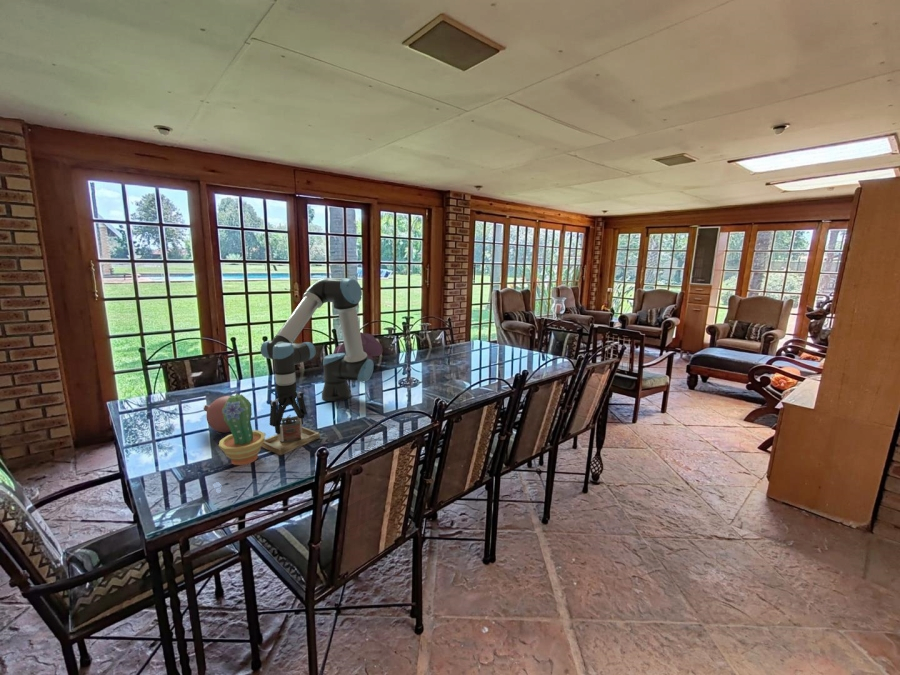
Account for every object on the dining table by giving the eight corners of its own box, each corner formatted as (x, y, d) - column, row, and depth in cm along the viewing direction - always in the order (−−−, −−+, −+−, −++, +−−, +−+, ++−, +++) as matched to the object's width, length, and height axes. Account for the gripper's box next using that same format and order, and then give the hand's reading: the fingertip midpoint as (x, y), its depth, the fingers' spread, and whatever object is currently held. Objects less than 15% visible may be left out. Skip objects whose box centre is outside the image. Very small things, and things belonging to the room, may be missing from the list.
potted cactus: (210, 464, 144) (202, 399, 139) (246, 446, 158) (239, 386, 153) (243, 473, 138) (235, 405, 133) (276, 453, 152) (271, 391, 147)
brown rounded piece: (224, 419, 183) (221, 387, 180) (257, 426, 176) (254, 393, 172) (192, 433, 169) (187, 398, 166) (226, 441, 162) (222, 405, 158)
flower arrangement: (350, 387, 243) (353, 345, 233) (319, 375, 251) (321, 334, 240) (381, 367, 274) (385, 329, 264) (353, 357, 281) (355, 320, 271)
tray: (299, 430, 172) (299, 425, 172) (319, 437, 165) (319, 432, 165) (260, 446, 158) (260, 441, 157) (280, 455, 151) (279, 450, 150)
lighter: (279, 443, 158) (278, 419, 157) (279, 440, 162) (278, 416, 160) (301, 440, 162) (300, 417, 160) (301, 437, 165) (299, 414, 163)
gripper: (302, 374, 167) (306, 425, 172) (255, 388, 150) (260, 443, 155) (314, 377, 163) (317, 429, 168) (266, 391, 146) (272, 449, 151)
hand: (290, 436), depth 161 cm, fingers open, 8 cm apart
